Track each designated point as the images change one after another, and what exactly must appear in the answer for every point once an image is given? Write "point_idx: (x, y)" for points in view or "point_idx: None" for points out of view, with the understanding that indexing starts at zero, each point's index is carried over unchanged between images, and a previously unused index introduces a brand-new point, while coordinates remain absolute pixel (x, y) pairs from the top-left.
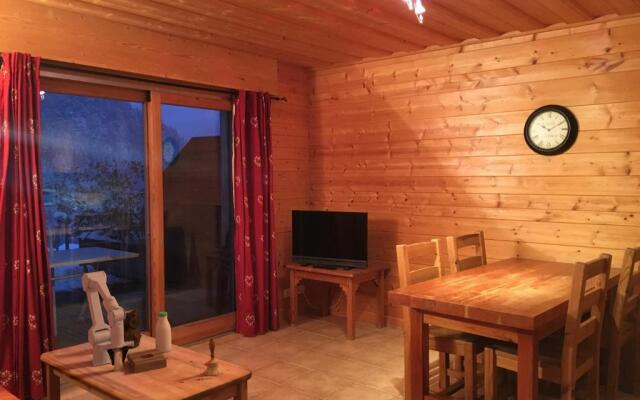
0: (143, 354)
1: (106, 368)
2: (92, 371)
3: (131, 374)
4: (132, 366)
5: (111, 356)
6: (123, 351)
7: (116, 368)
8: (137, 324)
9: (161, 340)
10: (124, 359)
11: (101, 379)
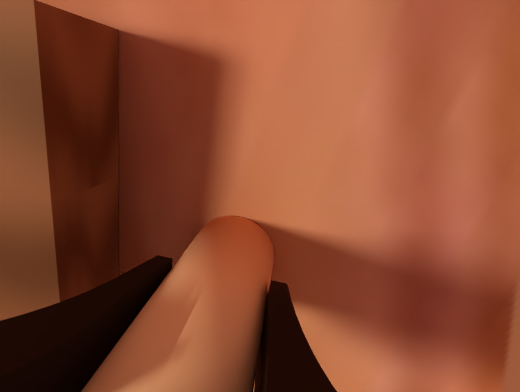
0: None
1: None
2: (416, 372)
3: (167, 28)
4: (106, 199)
5: (307, 378)
6: (38, 370)
7: (256, 241)
8: None
9: None
10: (130, 273)
11: (479, 119)
